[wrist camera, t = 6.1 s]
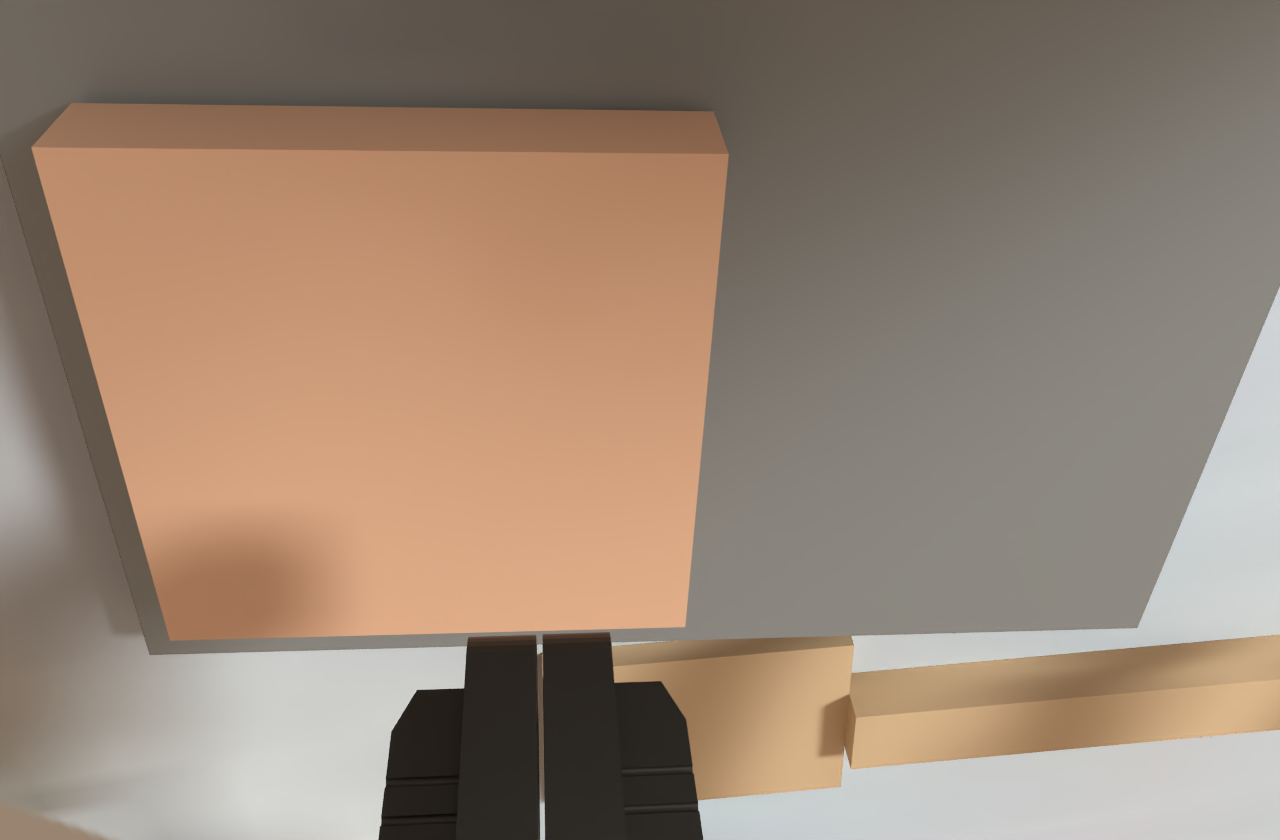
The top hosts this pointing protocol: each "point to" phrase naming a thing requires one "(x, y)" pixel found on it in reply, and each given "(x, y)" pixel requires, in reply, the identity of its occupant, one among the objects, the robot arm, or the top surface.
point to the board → (826, 267)
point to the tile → (398, 357)
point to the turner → (938, 704)
